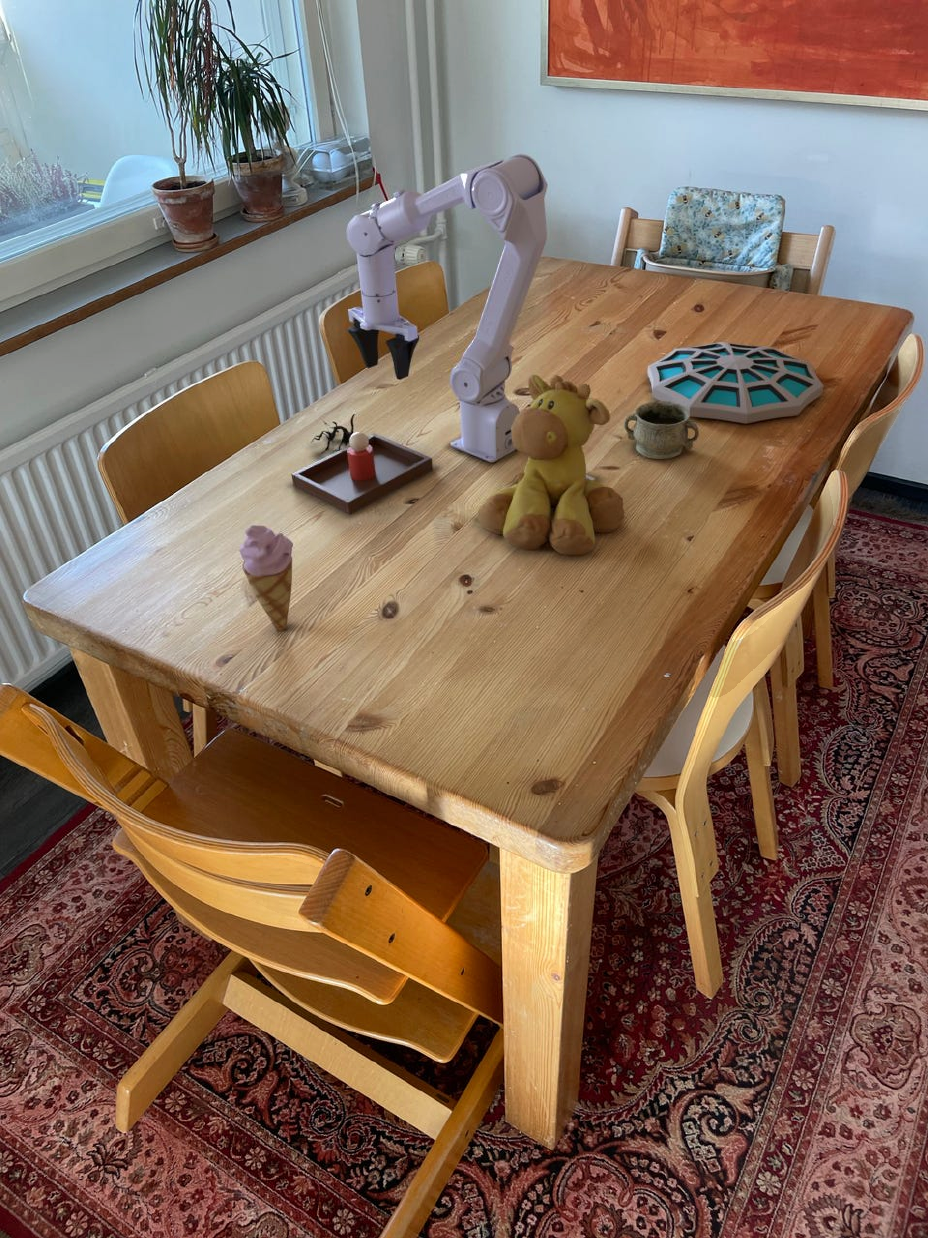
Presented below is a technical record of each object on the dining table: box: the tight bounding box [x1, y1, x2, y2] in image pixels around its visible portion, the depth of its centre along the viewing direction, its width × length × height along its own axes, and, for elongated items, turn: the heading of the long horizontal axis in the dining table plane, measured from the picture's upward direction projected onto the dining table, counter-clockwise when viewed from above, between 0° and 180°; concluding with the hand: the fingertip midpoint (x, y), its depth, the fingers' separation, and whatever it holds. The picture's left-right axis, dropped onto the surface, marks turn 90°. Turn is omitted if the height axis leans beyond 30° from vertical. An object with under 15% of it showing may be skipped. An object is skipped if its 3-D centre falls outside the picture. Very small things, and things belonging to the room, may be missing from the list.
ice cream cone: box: [238, 525, 294, 632], centre depth 115 cm, size 7×6×15 cm
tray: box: [290, 433, 434, 515], centre depth 148 cm, size 14×18×2 cm
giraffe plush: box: [477, 374, 626, 556], centre depth 132 cm, size 20×24×19 cm
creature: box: [310, 413, 356, 457], centre depth 156 cm, size 8×5×8 cm
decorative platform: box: [646, 341, 824, 425], centre depth 167 cm, size 31×29×5 cm
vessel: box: [623, 400, 700, 460], centre depth 150 cm, size 12×9×6 cm
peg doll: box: [347, 431, 376, 481], centre depth 146 cm, size 4×4×7 cm
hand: (387, 371), depth 158 cm, fingers open, 7 cm apart
